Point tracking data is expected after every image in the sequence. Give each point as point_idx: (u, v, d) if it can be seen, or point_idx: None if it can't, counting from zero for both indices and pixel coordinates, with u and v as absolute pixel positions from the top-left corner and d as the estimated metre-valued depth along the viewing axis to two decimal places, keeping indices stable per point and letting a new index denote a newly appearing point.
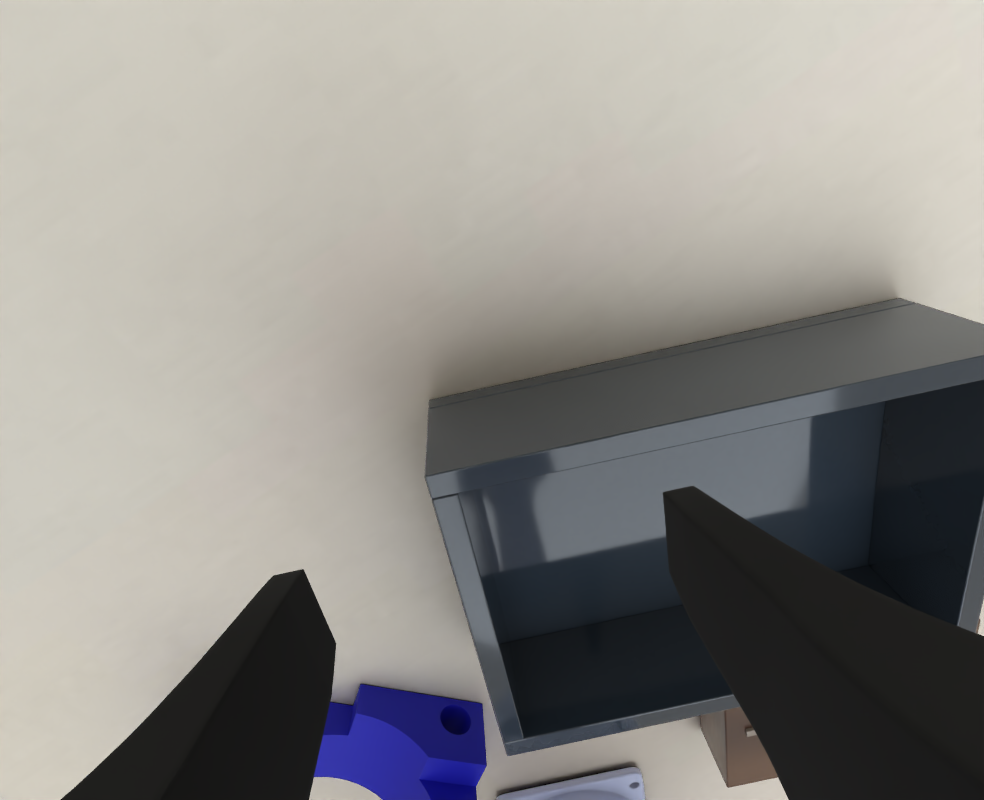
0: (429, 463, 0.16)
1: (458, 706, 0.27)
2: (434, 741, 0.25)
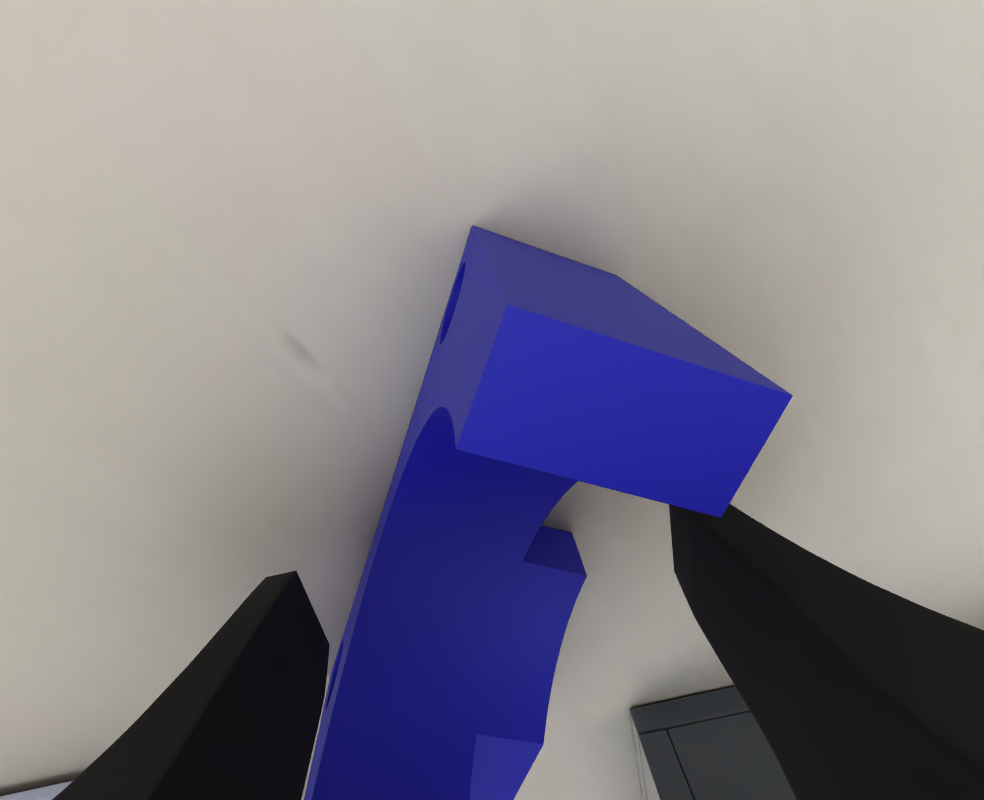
0: None
1: None
2: None
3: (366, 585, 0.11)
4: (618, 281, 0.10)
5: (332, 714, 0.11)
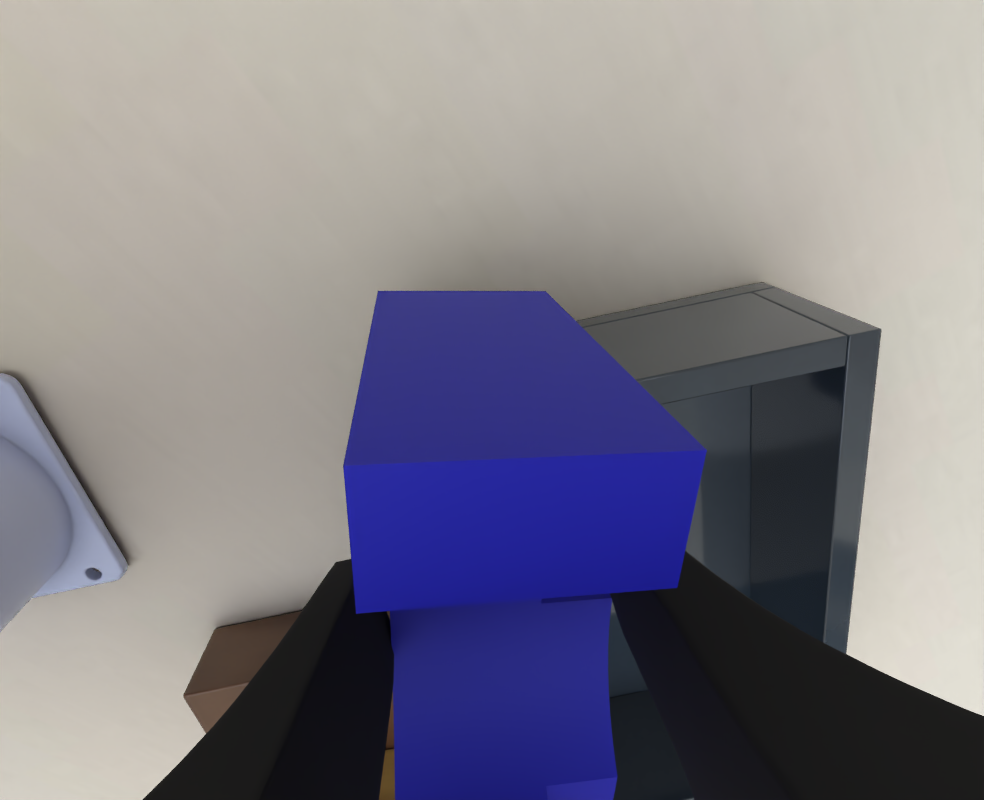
0: None
1: None
2: None
3: None
4: (542, 304, 0.09)
5: None
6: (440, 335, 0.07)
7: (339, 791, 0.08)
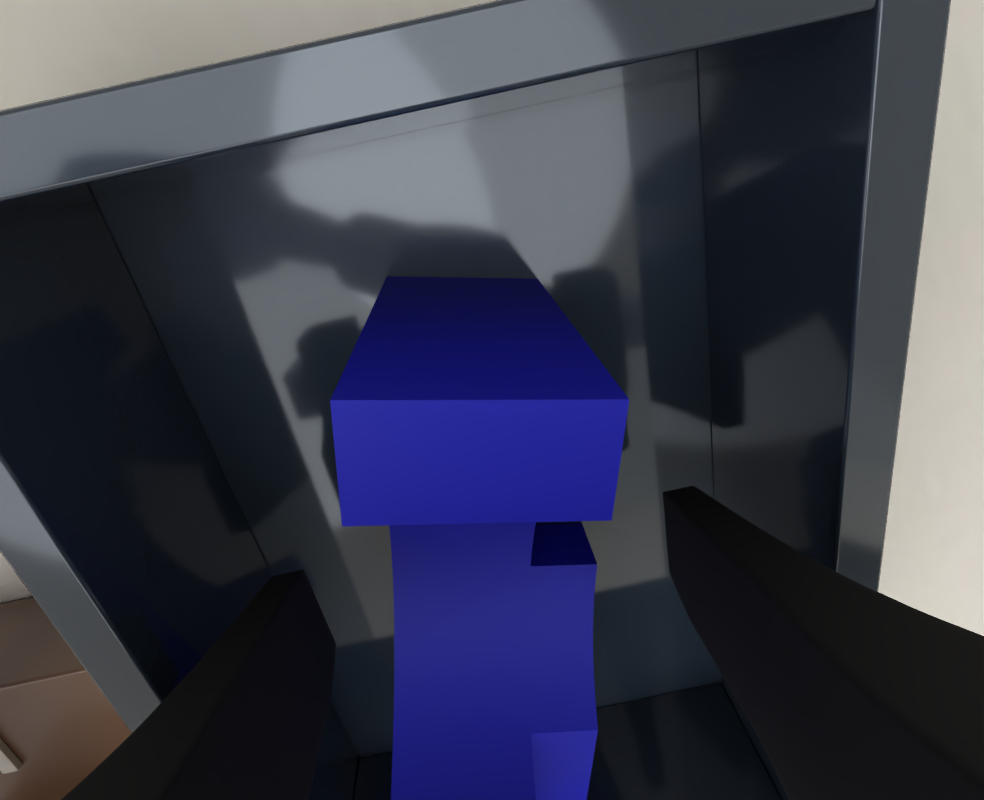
0: None
1: None
2: None
3: (395, 621, 0.12)
4: (531, 289, 0.10)
5: (393, 742, 0.12)
6: (432, 311, 0.09)
7: None
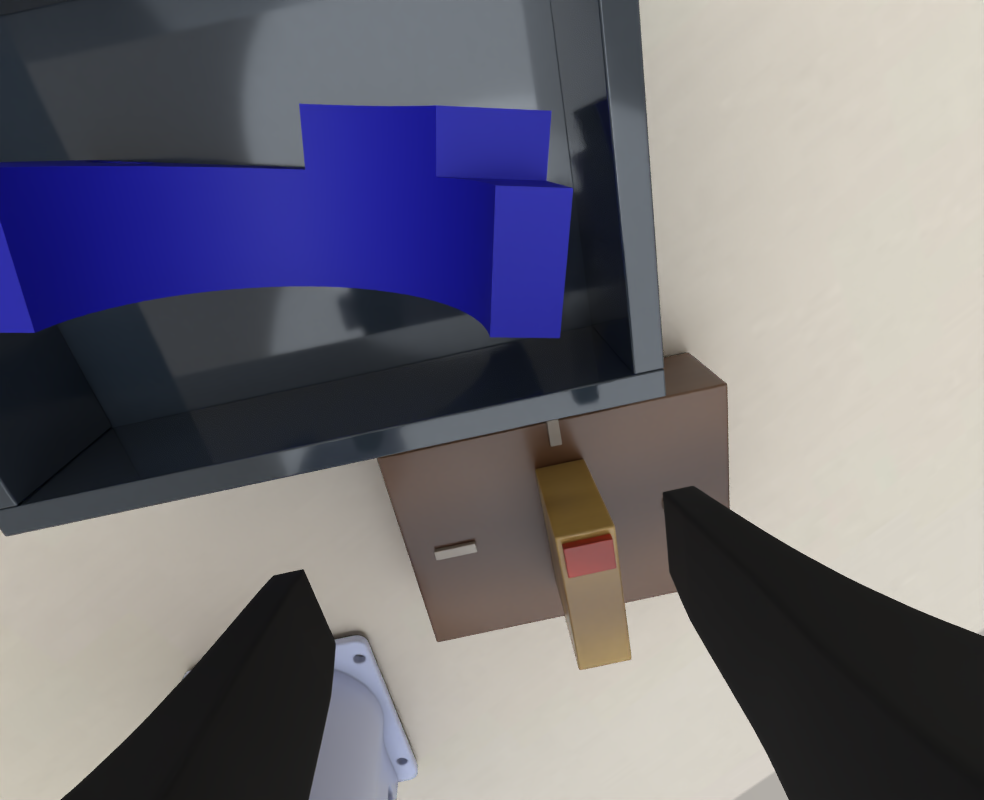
0: None
1: None
2: None
3: (363, 287, 0.15)
4: None
5: (437, 301, 0.14)
6: None
7: None
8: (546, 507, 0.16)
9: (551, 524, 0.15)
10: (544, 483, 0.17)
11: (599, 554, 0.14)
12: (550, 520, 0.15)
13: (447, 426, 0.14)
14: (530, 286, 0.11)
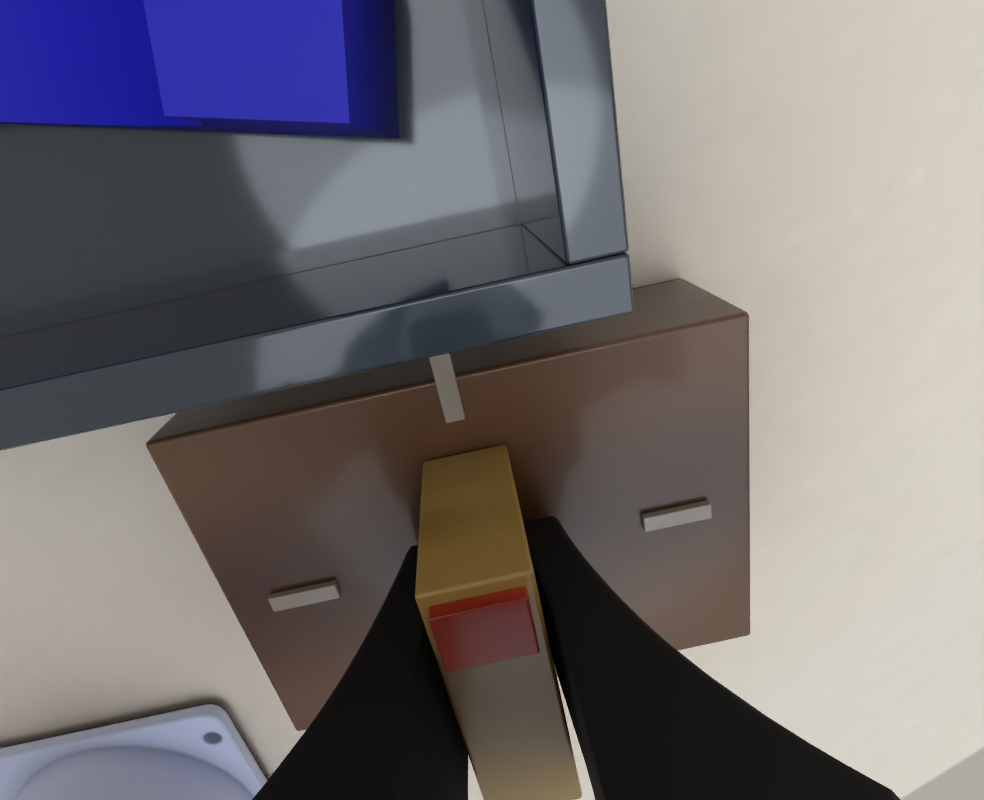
0: None
1: None
2: None
3: (72, 123, 0.08)
4: None
5: (178, 124, 0.07)
6: None
7: (443, 769, 0.08)
8: (420, 530, 0.09)
9: (417, 565, 0.08)
10: (430, 486, 0.10)
11: (503, 628, 0.07)
12: (418, 557, 0.08)
13: (193, 373, 0.07)
14: None
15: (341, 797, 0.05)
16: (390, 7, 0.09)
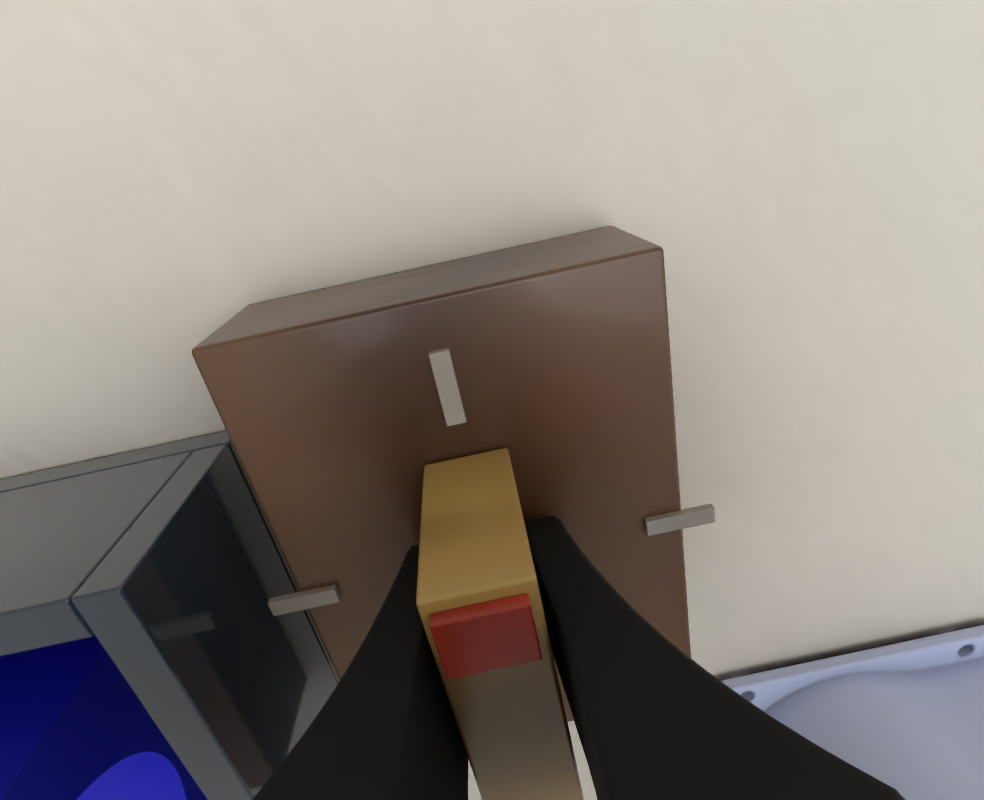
0: None
1: None
2: None
3: (169, 758, 0.14)
4: None
5: (121, 759, 0.12)
6: None
7: (443, 769, 0.08)
8: (420, 535, 0.08)
9: (418, 571, 0.08)
10: (431, 490, 0.09)
11: (505, 635, 0.07)
12: (419, 562, 0.08)
13: None
14: None
15: (342, 796, 0.05)
16: None
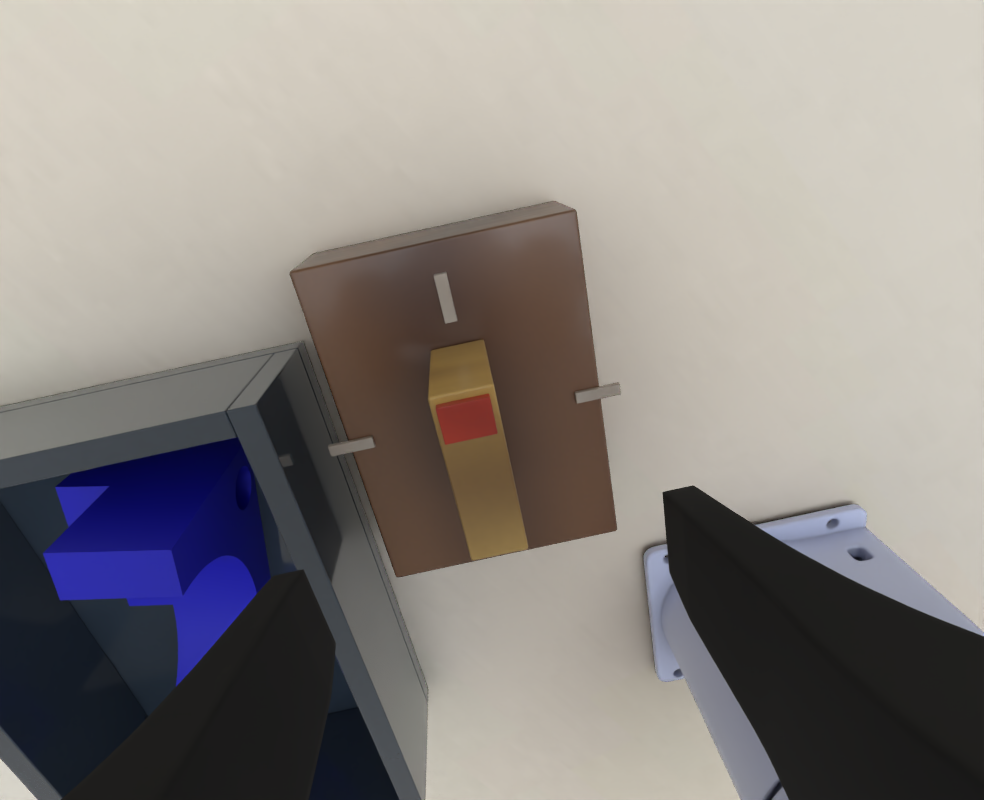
0: None
1: None
2: None
3: (251, 576, 0.20)
4: None
5: (228, 555, 0.18)
6: None
7: None
8: (429, 377, 0.14)
9: (429, 388, 0.14)
10: (435, 359, 0.15)
11: (476, 416, 0.13)
12: (429, 386, 0.14)
13: (311, 578, 0.16)
14: (131, 573, 0.14)
15: None
16: (180, 452, 0.18)
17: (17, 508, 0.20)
